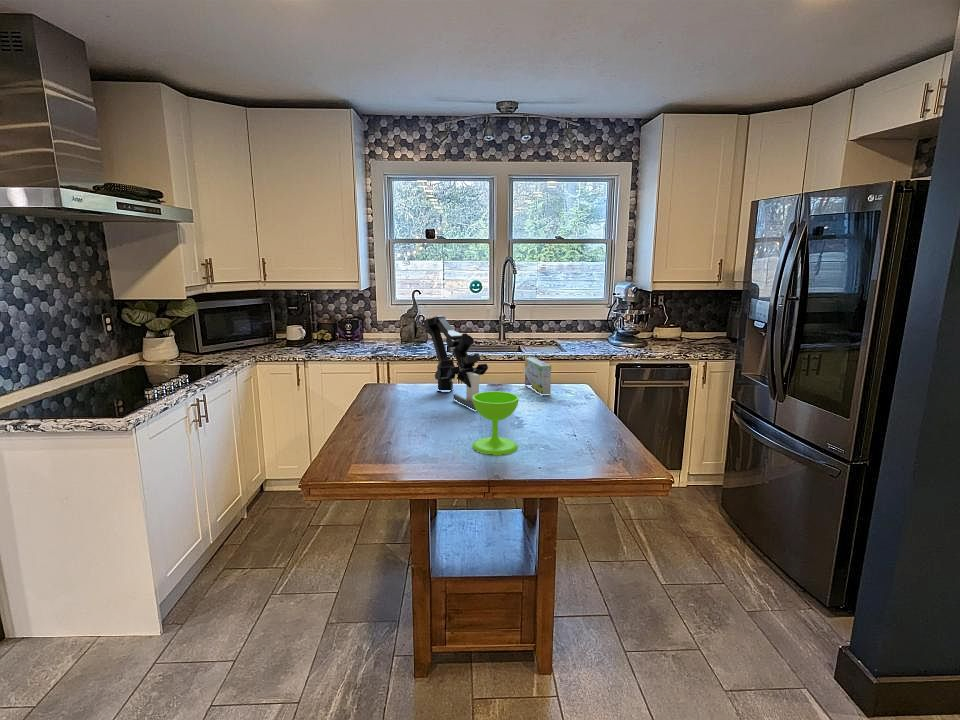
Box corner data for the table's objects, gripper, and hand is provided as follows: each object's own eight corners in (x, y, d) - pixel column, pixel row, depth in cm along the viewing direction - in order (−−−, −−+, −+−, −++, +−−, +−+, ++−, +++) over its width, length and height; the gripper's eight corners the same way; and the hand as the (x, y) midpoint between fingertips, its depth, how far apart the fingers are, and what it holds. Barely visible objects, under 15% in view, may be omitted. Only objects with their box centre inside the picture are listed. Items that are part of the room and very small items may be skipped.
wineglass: (526, 450, 180) (528, 399, 177) (486, 458, 172) (487, 406, 169) (502, 436, 194) (502, 389, 190) (463, 443, 186) (464, 394, 183)
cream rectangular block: (466, 399, 236) (466, 373, 233) (473, 398, 238) (473, 372, 235) (471, 402, 232) (472, 375, 229) (478, 401, 233) (479, 374, 231)
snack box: (523, 386, 270) (524, 357, 267) (533, 385, 271) (534, 357, 268) (540, 396, 250) (541, 365, 247) (551, 395, 251) (552, 365, 249)
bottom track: (453, 400, 241) (453, 394, 241) (470, 398, 246) (470, 392, 245) (475, 411, 224) (475, 404, 224) (492, 409, 229) (492, 402, 228)
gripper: (449, 349, 229) (461, 379, 222) (486, 346, 238) (499, 374, 231) (441, 363, 237) (453, 392, 230) (477, 359, 246) (489, 387, 239)
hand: (474, 386), depth 232 cm, fingers closed on cream rectangular block, 3 cm apart
